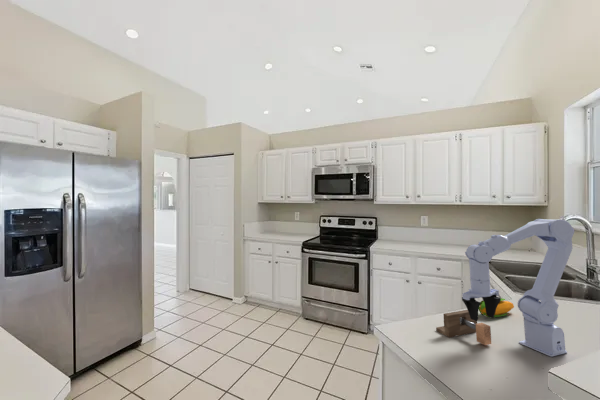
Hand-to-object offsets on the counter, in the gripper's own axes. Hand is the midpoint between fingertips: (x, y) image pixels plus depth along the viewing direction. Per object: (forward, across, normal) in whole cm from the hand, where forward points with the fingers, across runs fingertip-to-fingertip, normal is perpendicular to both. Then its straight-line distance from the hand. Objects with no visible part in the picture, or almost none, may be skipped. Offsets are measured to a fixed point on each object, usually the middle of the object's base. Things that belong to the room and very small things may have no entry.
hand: (482, 318), depth 89 cm
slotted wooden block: (+9, 0, -11) cm, 14 cm away
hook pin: (+8, 0, -5) cm, 10 cm away
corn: (+9, -30, -17) cm, 36 cm away
